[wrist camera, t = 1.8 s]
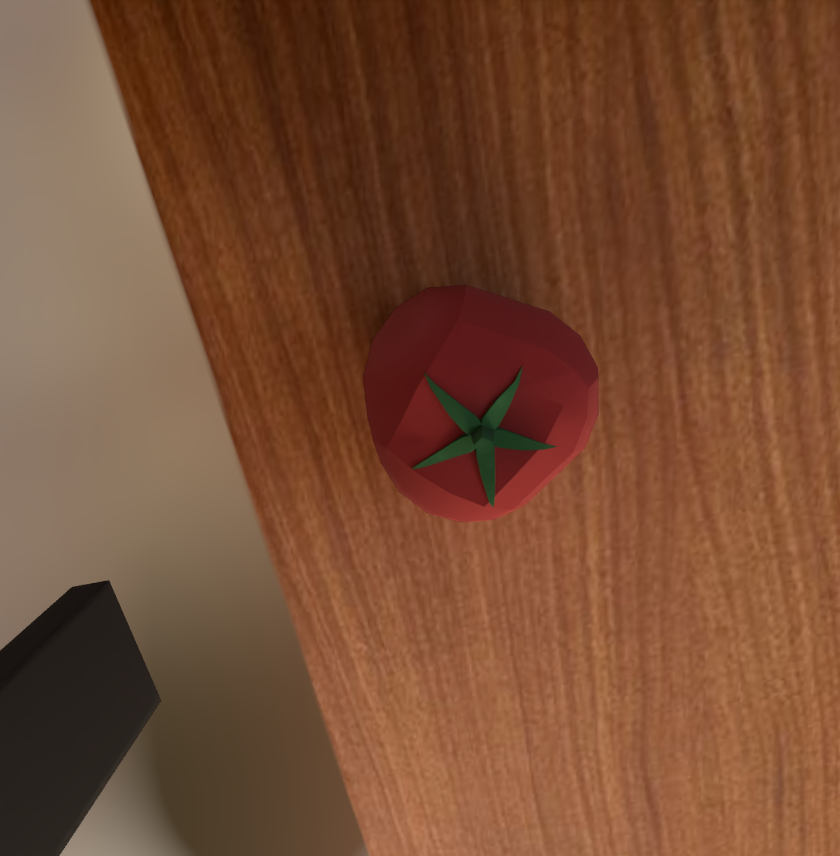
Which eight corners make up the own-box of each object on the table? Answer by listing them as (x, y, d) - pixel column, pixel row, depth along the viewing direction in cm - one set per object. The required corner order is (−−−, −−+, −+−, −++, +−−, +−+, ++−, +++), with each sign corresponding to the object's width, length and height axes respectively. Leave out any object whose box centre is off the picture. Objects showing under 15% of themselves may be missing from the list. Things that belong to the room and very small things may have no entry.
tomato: (611, 340, 23) (673, 385, 16) (507, 506, 25) (523, 606, 19) (426, 241, 22) (409, 244, 15) (338, 421, 25) (290, 492, 18)
